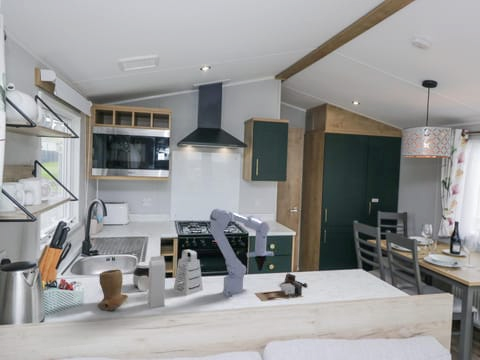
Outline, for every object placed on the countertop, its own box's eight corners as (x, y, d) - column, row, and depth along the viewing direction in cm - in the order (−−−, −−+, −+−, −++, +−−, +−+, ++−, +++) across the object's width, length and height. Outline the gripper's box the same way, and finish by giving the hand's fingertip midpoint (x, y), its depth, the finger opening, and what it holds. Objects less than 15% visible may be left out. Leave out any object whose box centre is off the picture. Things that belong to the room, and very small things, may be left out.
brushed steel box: (287, 297, 157) (287, 289, 157) (280, 292, 164) (281, 284, 164) (300, 295, 160) (300, 287, 159) (293, 290, 166) (293, 283, 166)
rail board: (261, 303, 152) (262, 290, 152) (254, 295, 162) (254, 283, 162) (303, 299, 160) (304, 286, 159) (293, 291, 169) (294, 279, 169)
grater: (186, 295, 159) (187, 254, 158) (173, 289, 166) (174, 250, 165) (202, 290, 166) (204, 251, 166) (189, 284, 174) (191, 247, 173)
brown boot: (106, 297, 154) (107, 265, 153) (131, 298, 153) (131, 266, 152) (89, 311, 139) (90, 276, 138) (116, 312, 138) (117, 277, 137)
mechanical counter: (287, 272, 184) (280, 272, 175) (309, 274, 178) (303, 275, 169) (286, 285, 182) (279, 286, 174) (309, 288, 176) (303, 289, 168)
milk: (148, 303, 149) (148, 255, 148) (161, 301, 151) (162, 253, 151) (150, 308, 143) (152, 258, 142) (164, 306, 146) (165, 257, 145)
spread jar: (146, 281, 176) (147, 260, 175) (160, 286, 169) (161, 264, 169) (127, 287, 166) (127, 265, 166) (141, 293, 160) (142, 269, 159)
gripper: (250, 246, 164) (249, 273, 165) (276, 245, 169) (275, 271, 170) (245, 243, 171) (244, 269, 171) (271, 242, 176) (270, 267, 176)
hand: (259, 270), depth 171 cm, fingers closed
